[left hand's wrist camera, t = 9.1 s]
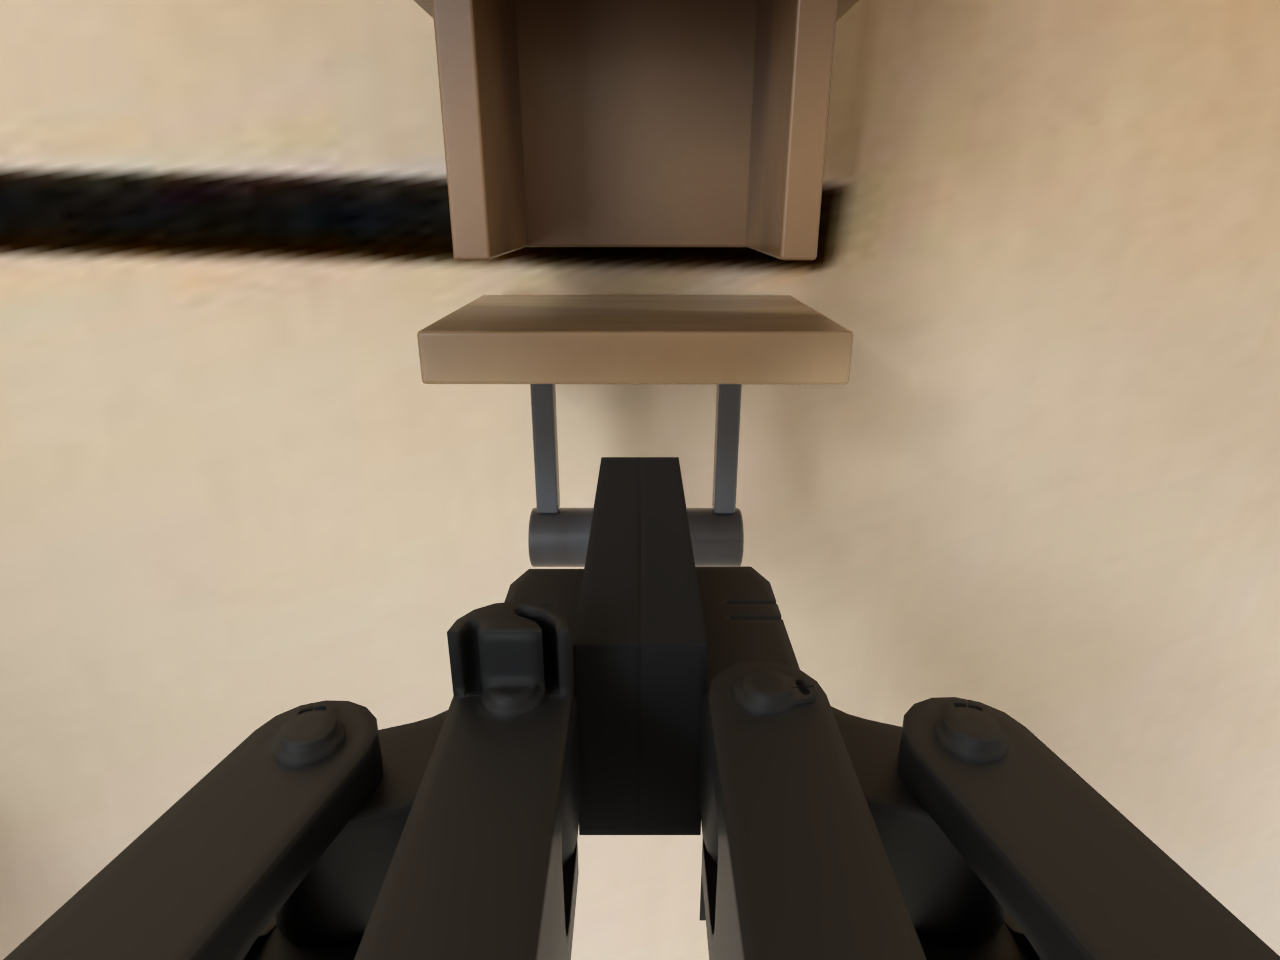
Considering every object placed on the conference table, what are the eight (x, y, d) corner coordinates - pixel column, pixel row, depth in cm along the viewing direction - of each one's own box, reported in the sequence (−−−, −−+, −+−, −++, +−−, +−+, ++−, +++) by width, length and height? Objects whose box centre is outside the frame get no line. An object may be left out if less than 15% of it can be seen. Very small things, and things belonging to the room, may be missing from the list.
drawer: (776, 509, 25) (825, 618, 19) (497, 509, 25) (445, 617, 19) (833, -299, 18) (949, -603, 11) (438, -299, 18) (317, -604, 11)
